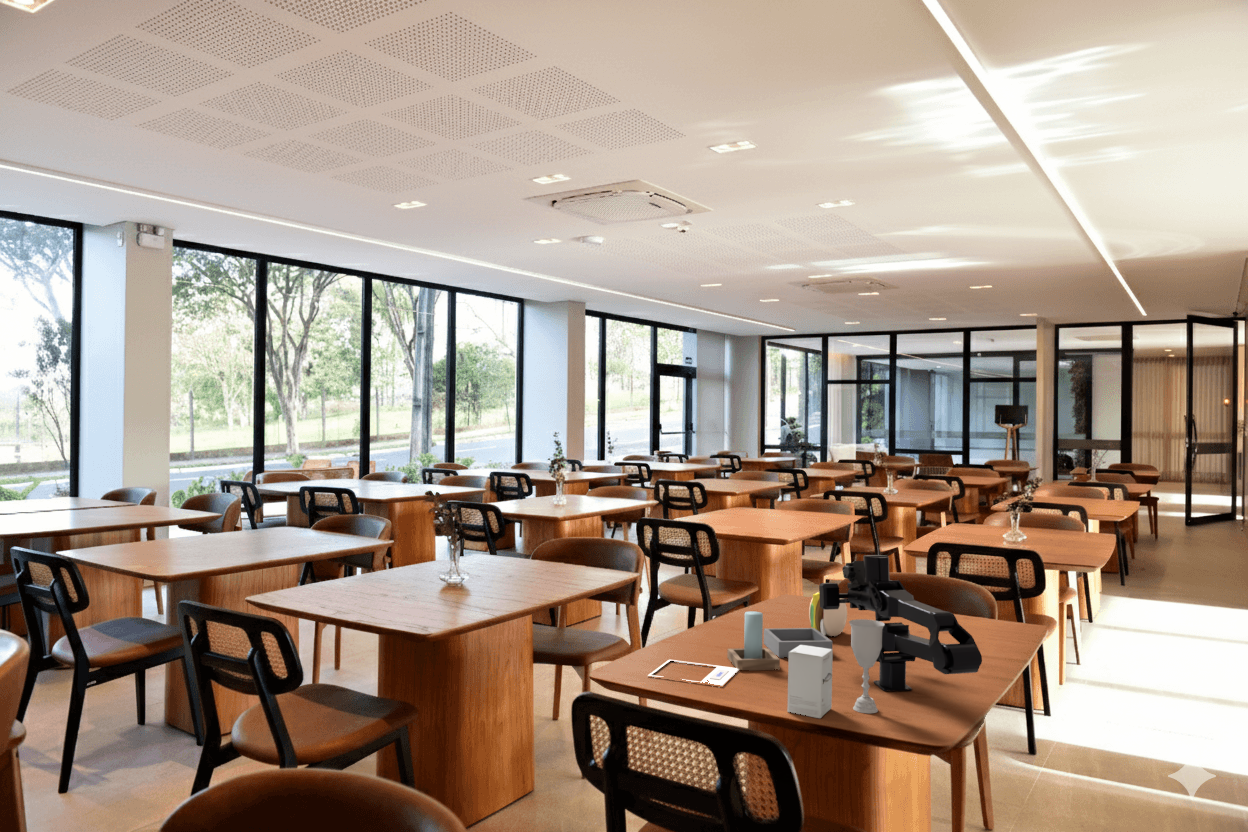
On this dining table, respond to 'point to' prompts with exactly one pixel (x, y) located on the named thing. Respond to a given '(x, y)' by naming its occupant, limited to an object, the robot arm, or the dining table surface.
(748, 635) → the pale blue tapered cylinder
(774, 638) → the bin
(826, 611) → the hamburger
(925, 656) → the robot arm
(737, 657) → the holder
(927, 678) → the dining table surface
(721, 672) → the photo frame
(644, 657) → the dining table surface
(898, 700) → the dining table surface
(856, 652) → the chalice
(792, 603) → the dining table surface
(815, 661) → the supplement box
